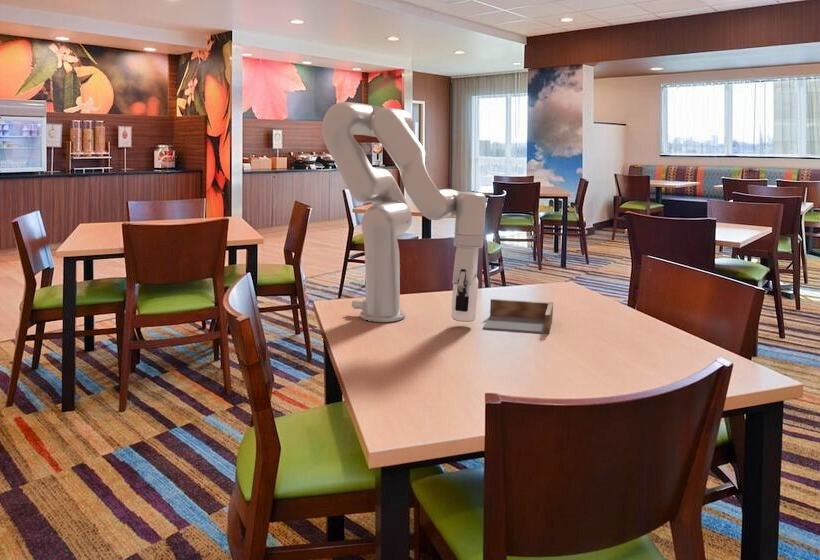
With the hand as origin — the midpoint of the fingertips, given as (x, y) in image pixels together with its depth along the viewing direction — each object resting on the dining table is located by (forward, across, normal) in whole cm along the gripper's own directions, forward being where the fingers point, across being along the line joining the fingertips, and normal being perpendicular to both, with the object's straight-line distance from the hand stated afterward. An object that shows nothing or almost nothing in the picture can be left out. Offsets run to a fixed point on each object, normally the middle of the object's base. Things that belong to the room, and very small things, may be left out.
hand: (464, 307), depth 176 cm
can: (+3, 0, 0) cm, 3 cm away
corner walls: (+5, -6, +14) cm, 16 cm away
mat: (+5, -6, +14) cm, 16 cm away
